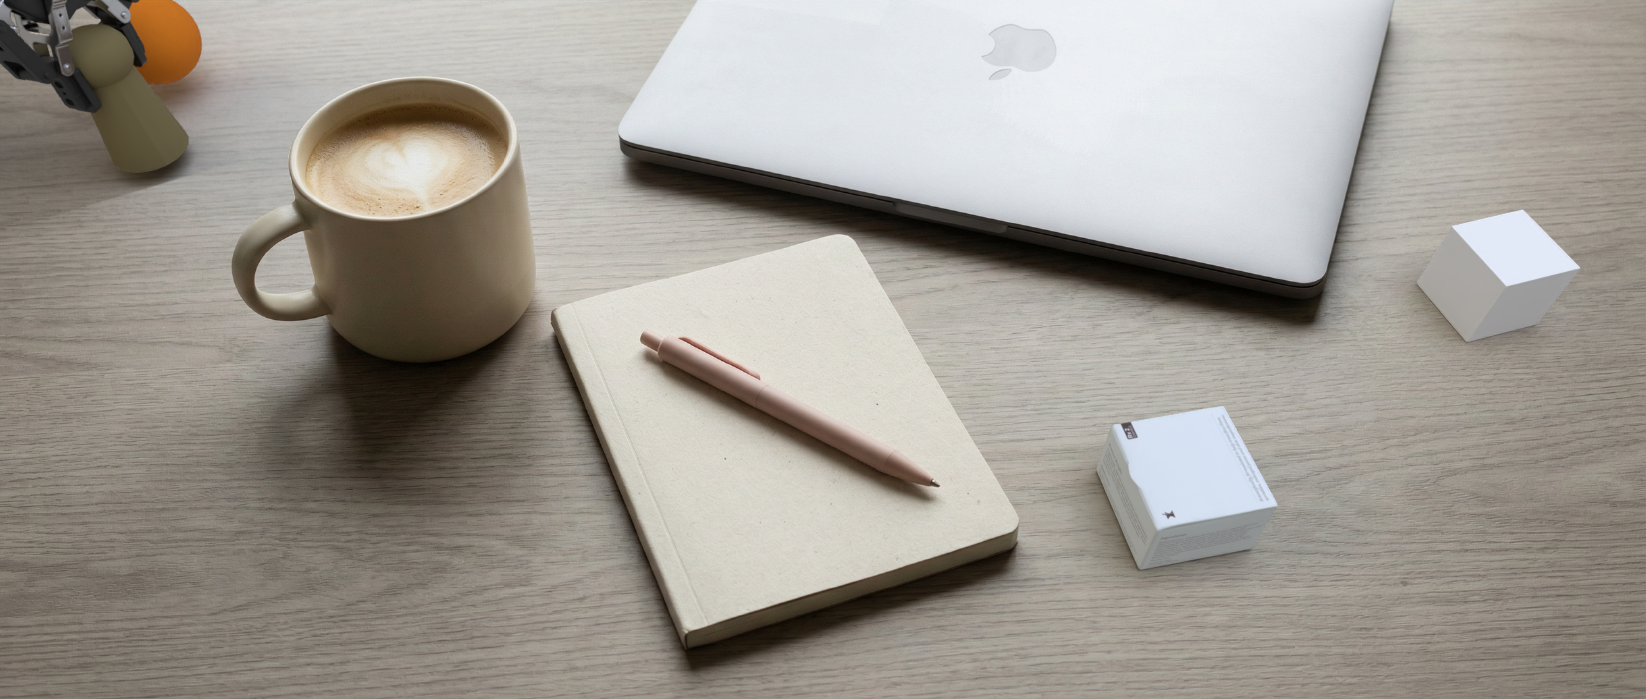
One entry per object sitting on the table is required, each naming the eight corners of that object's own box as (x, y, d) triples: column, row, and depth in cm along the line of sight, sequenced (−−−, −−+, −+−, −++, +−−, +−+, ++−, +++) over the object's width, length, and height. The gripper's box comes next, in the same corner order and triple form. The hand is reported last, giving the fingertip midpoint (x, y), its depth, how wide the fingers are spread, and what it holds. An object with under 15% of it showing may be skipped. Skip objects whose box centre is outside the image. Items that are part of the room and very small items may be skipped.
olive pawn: (107, 137, 94) (36, 25, 85) (183, 116, 95) (121, 4, 87) (115, 181, 90) (41, 69, 82) (194, 158, 92) (129, 46, 83)
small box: (1255, 550, 69) (1282, 507, 65) (1136, 573, 68) (1156, 531, 64) (1204, 448, 74) (1226, 402, 70) (1092, 467, 73) (1107, 422, 69)
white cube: (1466, 342, 80) (1506, 286, 75) (1415, 283, 84) (1450, 226, 79) (1537, 324, 81) (1581, 267, 76) (1484, 266, 85) (1523, 208, 80)
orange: (106, 95, 97) (60, 20, 91) (159, 43, 102) (118, -31, 96) (184, 108, 96) (142, 33, 90) (233, 55, 101) (197, -19, 95)
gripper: (10, -178, 79) (126, 26, 93) (-144, -71, 71) (8, 137, 84) (103, -165, 78) (207, 39, 92) (-42, -56, 70) (96, 152, 83)
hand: (111, 85), depth 88 cm, fingers closed on olive pawn, 5 cm apart
